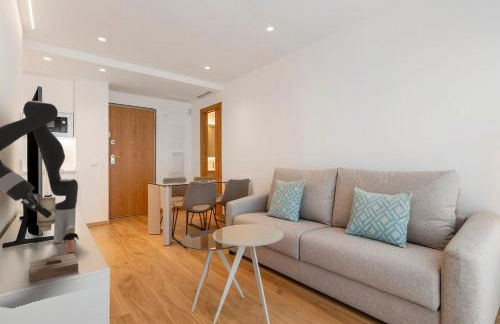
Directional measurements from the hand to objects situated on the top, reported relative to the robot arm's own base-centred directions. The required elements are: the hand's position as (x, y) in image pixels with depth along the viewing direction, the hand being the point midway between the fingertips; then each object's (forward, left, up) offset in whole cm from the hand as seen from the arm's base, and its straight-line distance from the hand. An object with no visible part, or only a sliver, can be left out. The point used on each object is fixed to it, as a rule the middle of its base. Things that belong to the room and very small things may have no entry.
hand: (52, 214), depth 101 cm
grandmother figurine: (-12, +8, -21) cm, 25 cm away
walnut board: (+7, +1, -21) cm, 22 cm away
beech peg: (0, -2, -6) cm, 6 cm away
